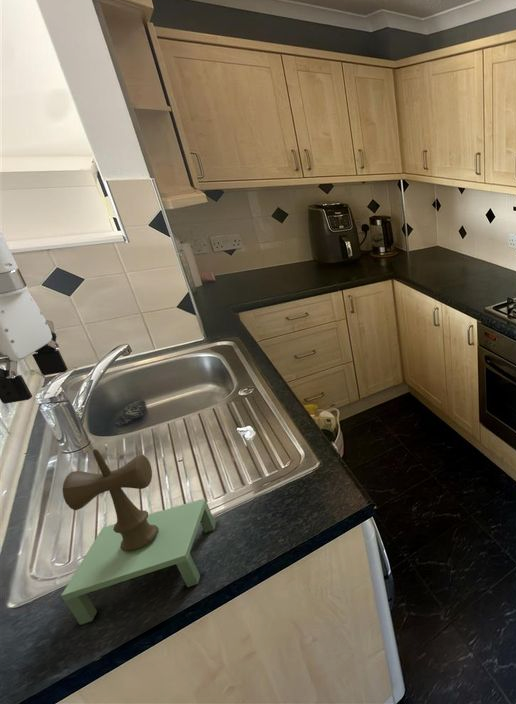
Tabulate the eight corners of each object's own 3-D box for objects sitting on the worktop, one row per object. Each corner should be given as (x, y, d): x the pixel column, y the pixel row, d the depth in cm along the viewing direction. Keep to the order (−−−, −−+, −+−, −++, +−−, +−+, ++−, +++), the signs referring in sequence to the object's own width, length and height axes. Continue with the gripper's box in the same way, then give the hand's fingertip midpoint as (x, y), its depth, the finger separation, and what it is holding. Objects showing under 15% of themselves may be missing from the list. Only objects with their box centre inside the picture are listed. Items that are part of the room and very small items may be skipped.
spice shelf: (79, 625, 65) (60, 595, 63) (117, 554, 77) (102, 527, 75) (198, 583, 71) (184, 555, 69) (215, 524, 83) (205, 498, 81)
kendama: (112, 539, 72) (62, 448, 65) (178, 517, 76) (138, 429, 69) (99, 567, 67) (43, 471, 60) (171, 541, 71) (127, 449, 64)
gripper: (-7, 275, 66) (40, 368, 72) (-105, 306, 51) (-35, 420, 58) (54, 270, 69) (94, 360, 75) (-23, 298, 54) (35, 407, 60)
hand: (38, 386), depth 66 cm, fingers open, 9 cm apart
